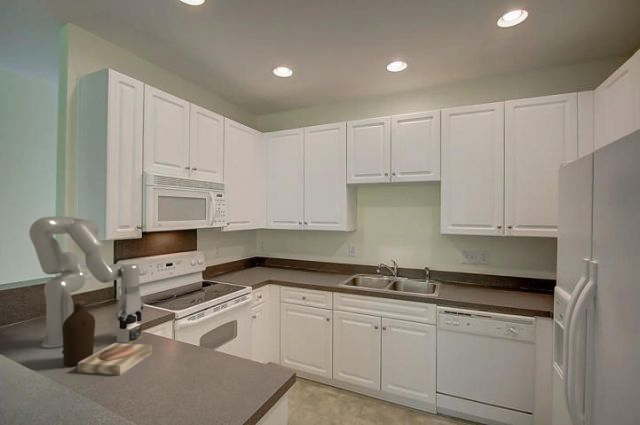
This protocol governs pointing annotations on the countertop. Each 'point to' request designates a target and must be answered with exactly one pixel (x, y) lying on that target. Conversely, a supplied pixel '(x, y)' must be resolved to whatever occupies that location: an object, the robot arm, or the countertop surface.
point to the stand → (115, 359)
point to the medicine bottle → (129, 330)
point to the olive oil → (78, 335)
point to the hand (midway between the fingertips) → (130, 324)
